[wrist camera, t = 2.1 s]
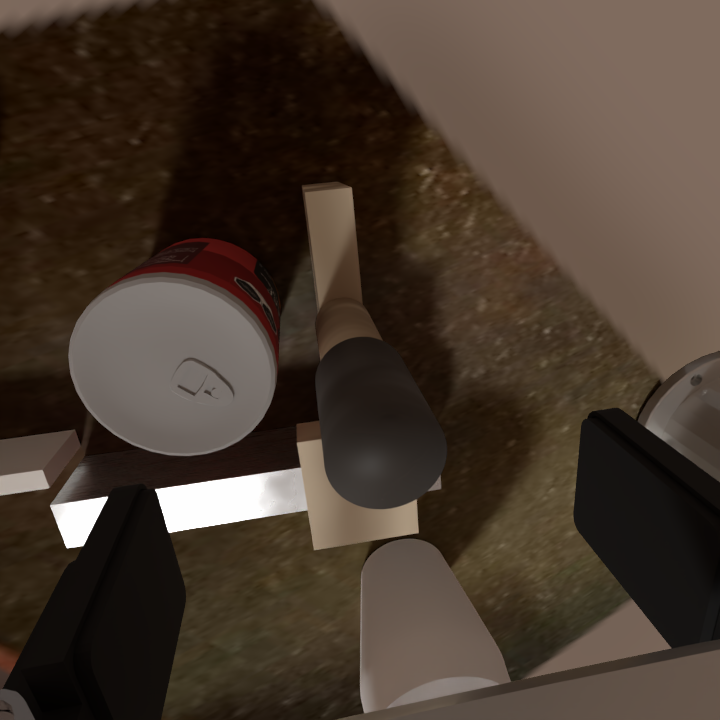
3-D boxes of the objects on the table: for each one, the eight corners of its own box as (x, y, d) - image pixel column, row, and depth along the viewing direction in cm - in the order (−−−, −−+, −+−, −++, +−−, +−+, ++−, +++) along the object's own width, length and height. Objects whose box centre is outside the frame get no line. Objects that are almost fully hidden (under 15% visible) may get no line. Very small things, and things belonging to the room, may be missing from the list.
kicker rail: (419, 408, 34) (439, 446, 30) (421, 446, 35) (441, 488, 31) (84, 456, 32) (50, 505, 28) (97, 495, 34) (67, 548, 29)
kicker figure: (373, 177, 28) (502, 202, 11) (395, 466, 35) (495, 754, 18) (264, 189, 28) (222, 233, 10) (309, 479, 35) (328, 788, 18)
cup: (420, 503, 37) (476, 648, 26) (479, 575, 41) (550, 730, 29) (322, 567, 38) (334, 732, 27) (386, 632, 42) (421, 803, 30)
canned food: (263, 376, 32) (250, 475, 22) (131, 342, 30) (51, 433, 20) (297, 260, 30) (301, 311, 20) (157, 216, 28) (81, 247, 18)
